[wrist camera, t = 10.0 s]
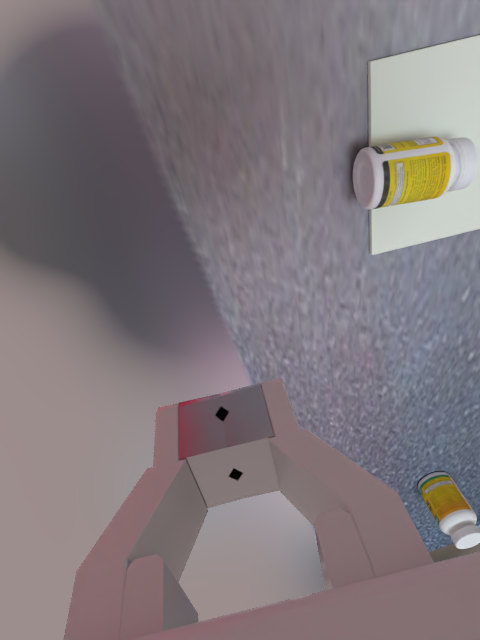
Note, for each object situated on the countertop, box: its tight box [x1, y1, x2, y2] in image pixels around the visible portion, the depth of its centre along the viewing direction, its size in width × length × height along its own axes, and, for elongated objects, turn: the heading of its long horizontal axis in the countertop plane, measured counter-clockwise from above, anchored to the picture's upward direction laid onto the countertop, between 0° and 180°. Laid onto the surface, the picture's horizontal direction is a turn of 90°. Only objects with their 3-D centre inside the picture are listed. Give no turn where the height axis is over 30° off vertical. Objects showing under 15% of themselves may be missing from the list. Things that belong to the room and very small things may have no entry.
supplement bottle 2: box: [418, 472, 480, 549], centre depth 59 cm, size 5×5×10 cm
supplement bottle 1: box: [353, 136, 478, 209], centre depth 32 cm, size 5×5×8 cm
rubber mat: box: [368, 35, 480, 255], centre depth 34 cm, size 16×12×1 cm
